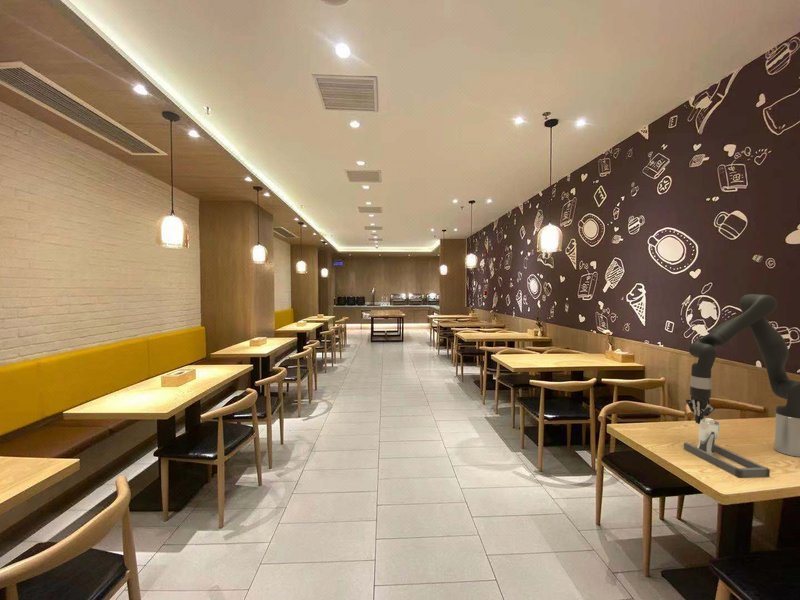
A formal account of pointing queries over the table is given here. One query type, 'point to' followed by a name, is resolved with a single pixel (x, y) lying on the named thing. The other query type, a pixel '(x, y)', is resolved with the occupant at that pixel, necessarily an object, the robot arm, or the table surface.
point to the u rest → (750, 471)
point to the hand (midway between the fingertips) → (698, 423)
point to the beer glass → (708, 434)
